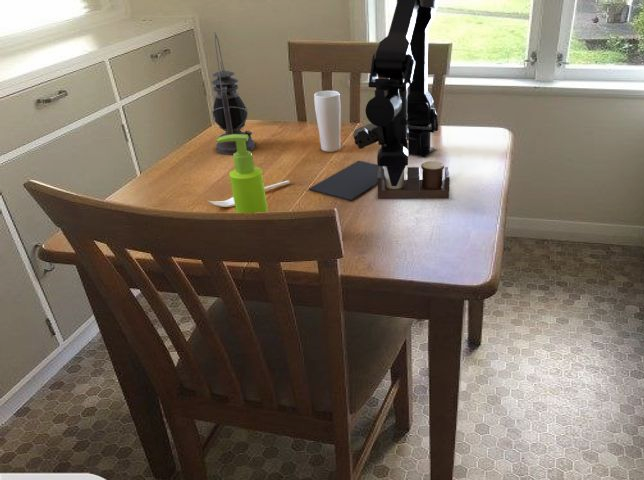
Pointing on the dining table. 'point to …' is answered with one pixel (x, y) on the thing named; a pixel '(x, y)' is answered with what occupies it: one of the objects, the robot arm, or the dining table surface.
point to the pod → (432, 174)
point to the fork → (231, 201)
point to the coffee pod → (387, 179)
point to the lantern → (229, 109)
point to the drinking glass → (328, 119)
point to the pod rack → (413, 187)
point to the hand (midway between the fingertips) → (394, 181)
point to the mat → (350, 181)
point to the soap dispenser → (245, 178)
